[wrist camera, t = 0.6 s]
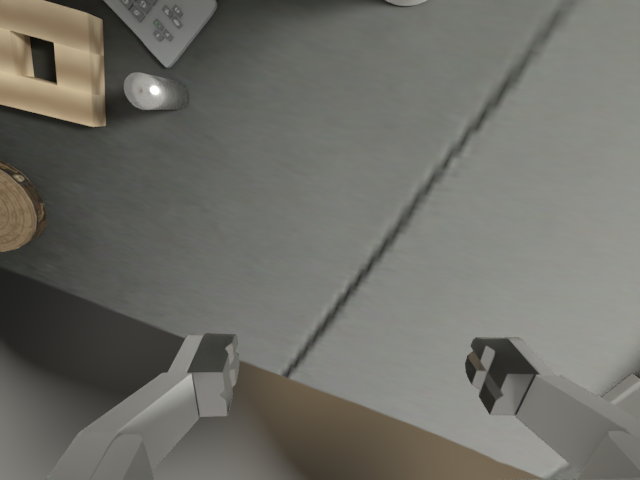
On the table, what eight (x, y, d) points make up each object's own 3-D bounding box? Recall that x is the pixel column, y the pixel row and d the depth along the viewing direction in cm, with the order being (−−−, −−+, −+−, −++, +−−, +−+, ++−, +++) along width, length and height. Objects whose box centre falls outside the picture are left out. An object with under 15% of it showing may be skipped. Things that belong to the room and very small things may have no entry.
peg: (162, 76, 43) (123, 68, 34) (190, 84, 44) (159, 77, 35) (161, 105, 45) (123, 104, 36) (188, 112, 46) (158, 113, 36)
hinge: (633, 372, 73) (685, 412, 65) (637, 373, 76) (688, 411, 68) (580, 413, 79) (622, 454, 71) (586, 413, 81) (628, 452, 73)
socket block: (-13, -14, 39) (-37, -24, 36) (102, 19, 40) (87, 13, 38) (5, 101, 44) (-15, 100, 41) (105, 125, 46) (93, 126, 43)
